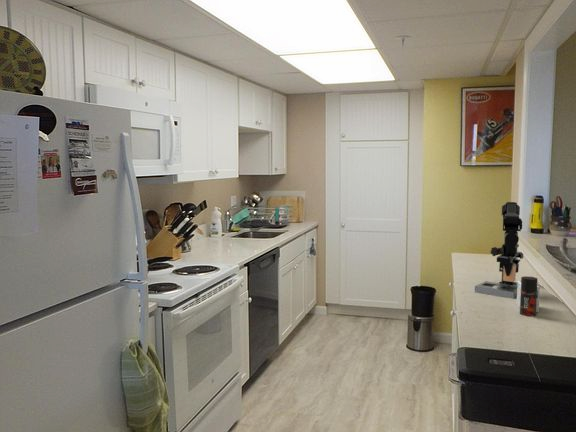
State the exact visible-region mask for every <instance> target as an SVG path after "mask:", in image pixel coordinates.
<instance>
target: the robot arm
mask: <svg viewBox="0 0 576 432" xmlns="http://www.w3.org/2000/svg"><path fill="white" fill-rule="evenodd" d="M520 208H521V206H520V205H519V204H518V203H517V202H515V201H507V202H505V204H503V205H501V216H502V231H503V232H504V238H503V239H504V240H503V241H504V242H503V243H502V244H501V247H497V246H495V247H494V246H493V247H491V249H490V252H489V253H490V254H491V255H492V257H496V262H497V263H499V264H498V265H499V269H498V270H499V271H498V272H499V273H501V280H500V281H499V282H498V283H501V284H508V285H515V284H516V283H517V282H516V281H513V282H509V281H503V269H504V268H505V272H506V276H509V275H510V273H511V270H512V268H513V265H514V263H515V264H516V274H517V273H519V270H520V269H519V267H520V264H519V263H520V262H521V260H522V259H524V253H523V252H522V251H518V248H519V247H520V244H518V243H519V241H520V239H519V233H518V232H522V231H521V230H523V220H522V218H520V213H521V212H520V211H521V209H520Z"/></svg>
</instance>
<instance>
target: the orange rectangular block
mask: <svg viewBox="0 0 576 432" xmlns="http://www.w3.org/2000/svg"><path fill="white" fill-rule="evenodd" d="M516 274H517V273H516V264H515V263H514V265H513V268H512V270H511V273H510V275H509V276H506V272H505V268H504V269H503V281H509V282H513V281H514V282H516Z"/></svg>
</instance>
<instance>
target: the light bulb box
mask: <svg viewBox="0 0 576 432" xmlns="http://www.w3.org/2000/svg"><path fill="white" fill-rule="evenodd" d="M516 283H517V284H516V286H517V297H516V306H517V308H519V309H520V297H521V280H517V282H516ZM540 289H541V287H540V286H539V285H538V284H537V300H536V313H539V311H540Z"/></svg>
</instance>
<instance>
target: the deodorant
mask: <svg viewBox="0 0 576 432" xmlns="http://www.w3.org/2000/svg"><path fill="white" fill-rule="evenodd" d="M520 281H521V297H520V308H519V314H520V315H522V316H523V317H524V316H525V317H536V315H537V312H536V300H537V285H538V277H535V276H521V280H520Z"/></svg>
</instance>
